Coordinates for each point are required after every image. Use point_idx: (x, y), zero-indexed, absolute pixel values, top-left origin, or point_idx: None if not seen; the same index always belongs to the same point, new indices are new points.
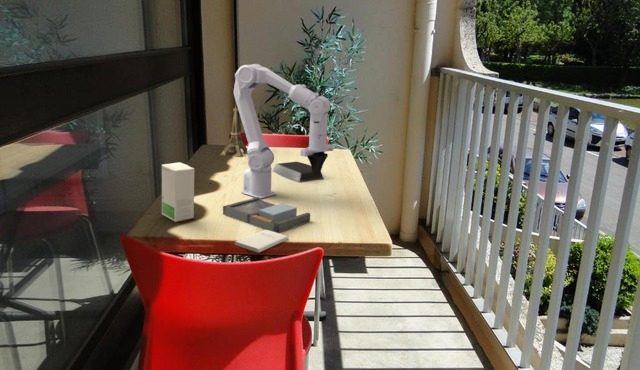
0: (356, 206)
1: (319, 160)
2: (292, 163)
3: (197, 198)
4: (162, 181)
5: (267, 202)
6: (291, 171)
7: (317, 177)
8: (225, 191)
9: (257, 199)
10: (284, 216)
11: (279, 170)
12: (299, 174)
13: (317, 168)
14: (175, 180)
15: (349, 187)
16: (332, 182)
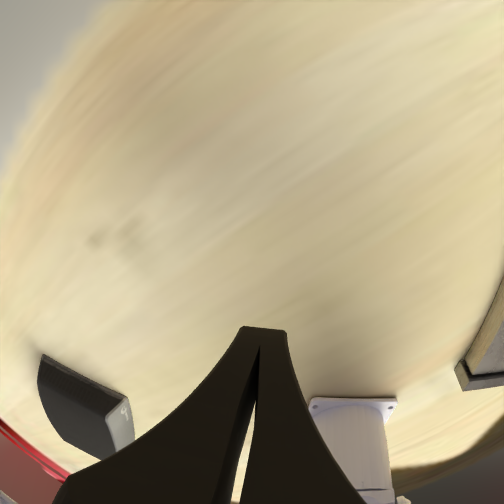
0: (177, 16)
1: (318, 494)
2: (80, 445)
3: (450, 453)
4: None
5: (495, 339)
6: (118, 438)
7: (57, 370)
8: None
9: (477, 377)
10: None
11: None
12: (111, 418)
13: (297, 392)
14: None
15: (13, 243)
16: (33, 318)
